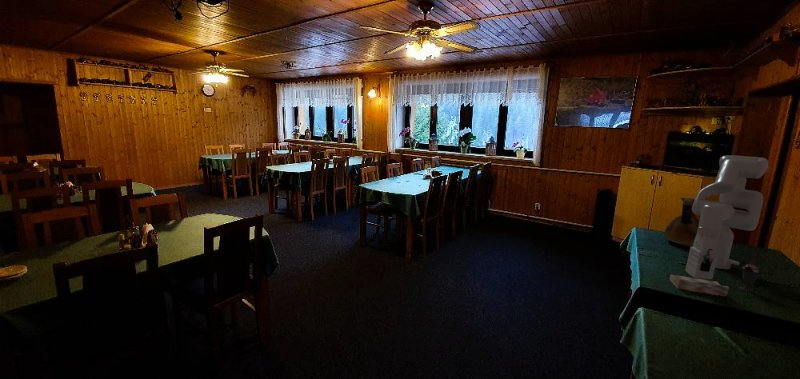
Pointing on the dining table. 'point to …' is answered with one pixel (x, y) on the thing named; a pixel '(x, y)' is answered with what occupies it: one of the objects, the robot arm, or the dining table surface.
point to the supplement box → (699, 264)
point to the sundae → (749, 275)
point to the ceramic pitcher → (683, 225)
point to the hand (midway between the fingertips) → (700, 267)
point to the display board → (699, 285)
